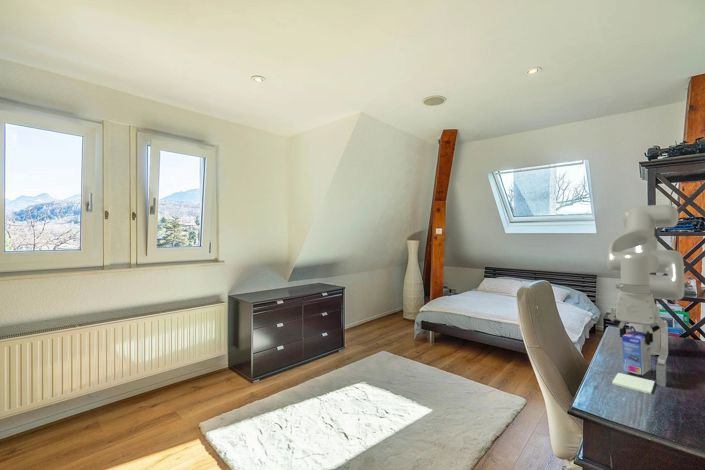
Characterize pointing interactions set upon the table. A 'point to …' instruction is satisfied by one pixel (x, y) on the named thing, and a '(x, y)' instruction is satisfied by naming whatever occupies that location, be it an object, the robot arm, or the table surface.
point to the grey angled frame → (662, 343)
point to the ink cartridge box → (636, 352)
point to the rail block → (661, 374)
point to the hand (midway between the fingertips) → (636, 341)
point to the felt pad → (634, 383)
